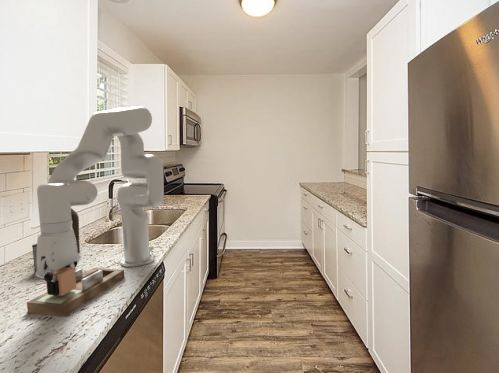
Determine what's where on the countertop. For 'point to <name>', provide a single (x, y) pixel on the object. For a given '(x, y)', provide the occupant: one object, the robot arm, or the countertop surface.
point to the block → (65, 280)
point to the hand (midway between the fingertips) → (61, 289)
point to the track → (76, 292)
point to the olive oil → (75, 227)
